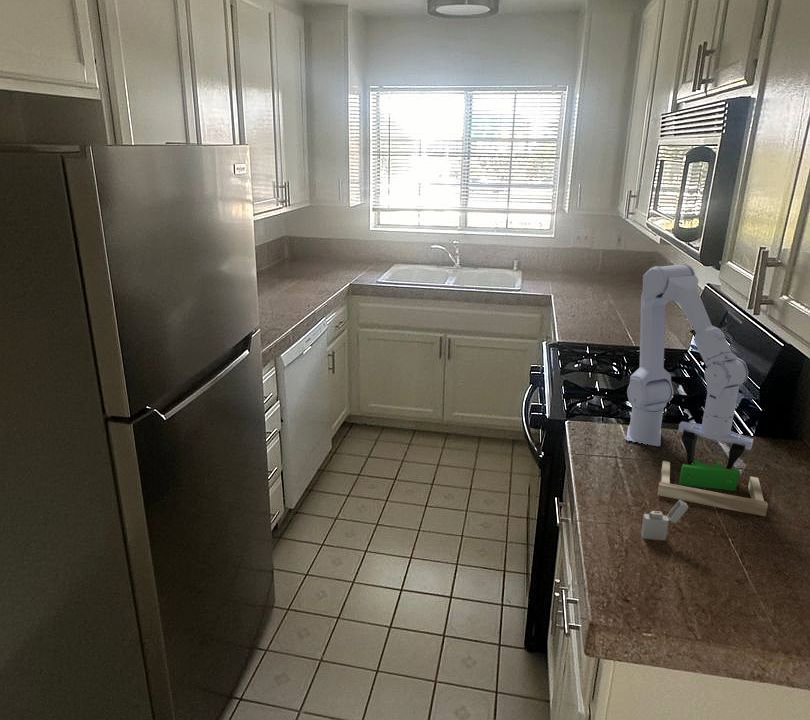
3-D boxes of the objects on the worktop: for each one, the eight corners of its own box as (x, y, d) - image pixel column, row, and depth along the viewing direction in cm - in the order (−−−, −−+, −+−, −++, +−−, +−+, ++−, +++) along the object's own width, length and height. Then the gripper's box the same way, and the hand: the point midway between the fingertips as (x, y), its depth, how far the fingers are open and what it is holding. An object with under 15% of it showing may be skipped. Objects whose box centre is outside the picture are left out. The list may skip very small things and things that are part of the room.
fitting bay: (658, 470, 138) (660, 460, 137) (758, 488, 130) (760, 478, 130) (657, 495, 128) (659, 484, 127) (765, 516, 120) (768, 505, 120)
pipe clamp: (730, 481, 133) (735, 463, 131) (735, 491, 130) (740, 472, 128) (676, 475, 135) (680, 457, 134) (679, 484, 132) (683, 466, 130)
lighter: (642, 538, 114) (648, 501, 111) (640, 533, 115) (646, 496, 113) (682, 542, 113) (689, 504, 110) (679, 536, 114) (686, 499, 112)
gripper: (760, 415, 129) (748, 471, 134) (688, 399, 138) (679, 452, 142) (753, 426, 124) (741, 484, 129) (679, 409, 133) (670, 464, 137)
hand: (708, 468), depth 135 cm, fingers open, 7 cm apart
